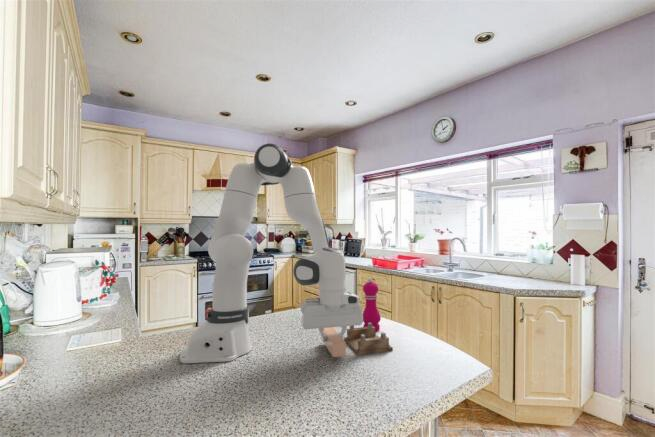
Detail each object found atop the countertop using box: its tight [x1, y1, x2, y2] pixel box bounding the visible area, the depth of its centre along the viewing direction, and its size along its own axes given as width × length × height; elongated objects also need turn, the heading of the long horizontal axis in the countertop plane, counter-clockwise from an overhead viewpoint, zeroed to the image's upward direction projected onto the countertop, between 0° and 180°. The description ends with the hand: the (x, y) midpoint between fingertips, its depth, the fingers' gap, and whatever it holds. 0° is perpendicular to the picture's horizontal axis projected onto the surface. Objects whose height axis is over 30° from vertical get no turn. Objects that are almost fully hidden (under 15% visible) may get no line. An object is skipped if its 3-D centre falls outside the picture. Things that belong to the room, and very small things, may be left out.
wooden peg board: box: [343, 322, 394, 356], centre depth 108 cm, size 12×14×6 cm
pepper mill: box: [362, 277, 381, 332], centre depth 125 cm, size 7×7×20 cm
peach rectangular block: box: [320, 327, 347, 358], centre depth 103 cm, size 4×16×4 cm, turn 14°
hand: (332, 340), depth 103 cm, fingers closed on peach rectangular block, 4 cm apart
